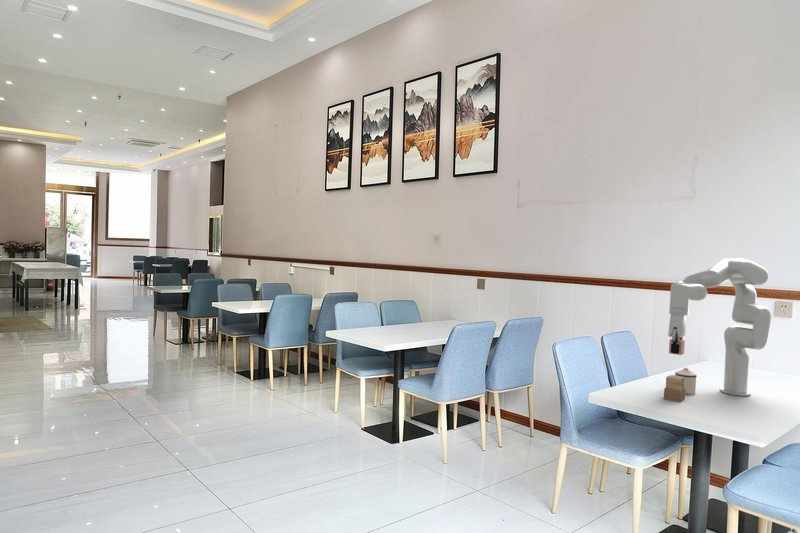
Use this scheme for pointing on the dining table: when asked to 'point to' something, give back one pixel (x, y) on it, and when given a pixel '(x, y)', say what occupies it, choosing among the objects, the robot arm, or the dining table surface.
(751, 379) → the dining table surface
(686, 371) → the teacup with lid
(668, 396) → the tower base
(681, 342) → the terracotta block
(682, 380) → the block
